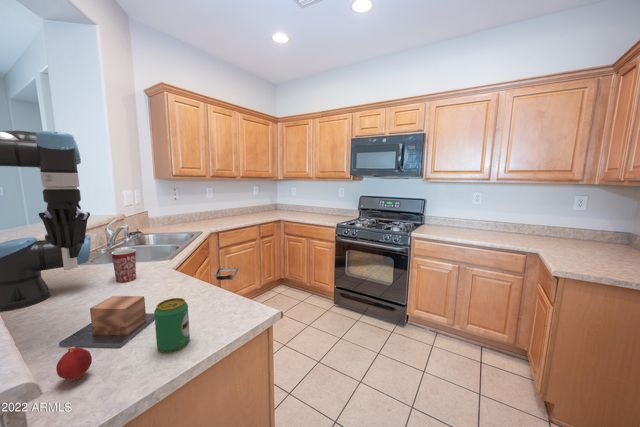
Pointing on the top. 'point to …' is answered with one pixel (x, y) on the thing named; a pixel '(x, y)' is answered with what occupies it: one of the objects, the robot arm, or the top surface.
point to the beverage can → (172, 324)
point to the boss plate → (103, 336)
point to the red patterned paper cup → (124, 265)
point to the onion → (74, 363)
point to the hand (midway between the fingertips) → (71, 268)
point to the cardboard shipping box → (118, 315)
